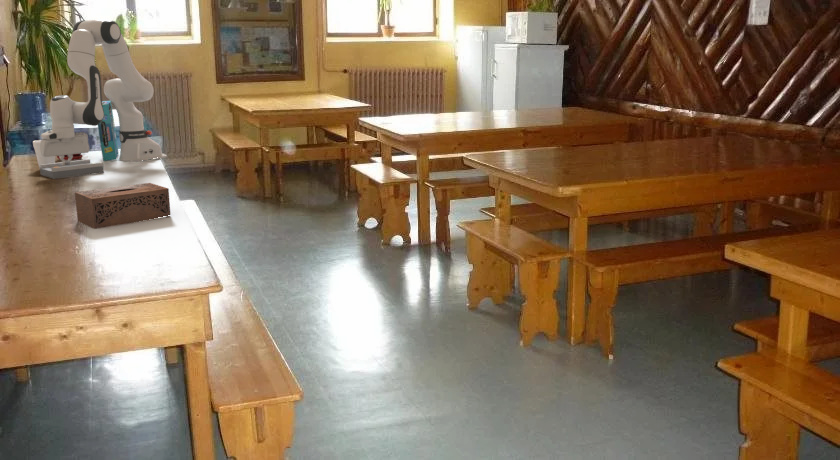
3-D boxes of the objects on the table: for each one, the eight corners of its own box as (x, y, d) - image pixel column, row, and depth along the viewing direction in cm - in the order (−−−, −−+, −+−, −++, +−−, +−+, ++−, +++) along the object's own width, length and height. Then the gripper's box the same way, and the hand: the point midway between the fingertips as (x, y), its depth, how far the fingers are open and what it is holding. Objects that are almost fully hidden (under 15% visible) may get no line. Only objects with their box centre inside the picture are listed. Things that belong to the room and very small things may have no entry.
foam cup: (62, 167, 373) (59, 139, 369) (51, 171, 364) (48, 142, 360) (43, 167, 373) (39, 139, 370) (31, 170, 364) (28, 142, 361)
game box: (105, 155, 411) (97, 101, 404) (119, 153, 413) (110, 100, 406) (102, 161, 392) (93, 104, 385) (116, 159, 394) (108, 103, 387)
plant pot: (78, 161, 391) (76, 136, 388) (51, 161, 391) (48, 136, 388) (89, 157, 404) (87, 133, 401) (63, 157, 404) (61, 133, 401)
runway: (90, 168, 369) (89, 159, 368) (103, 172, 360) (102, 162, 359) (40, 174, 354) (39, 164, 353) (53, 178, 345) (52, 168, 343)
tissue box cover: (152, 210, 285) (149, 182, 282) (170, 217, 274) (168, 188, 272) (77, 222, 268) (74, 192, 265) (94, 229, 257) (91, 198, 255)
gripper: (84, 130, 361) (87, 161, 364) (36, 134, 346) (40, 166, 350) (90, 132, 356) (93, 163, 360) (42, 136, 342) (46, 168, 345)
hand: (66, 165), depth 355 cm, fingers closed
